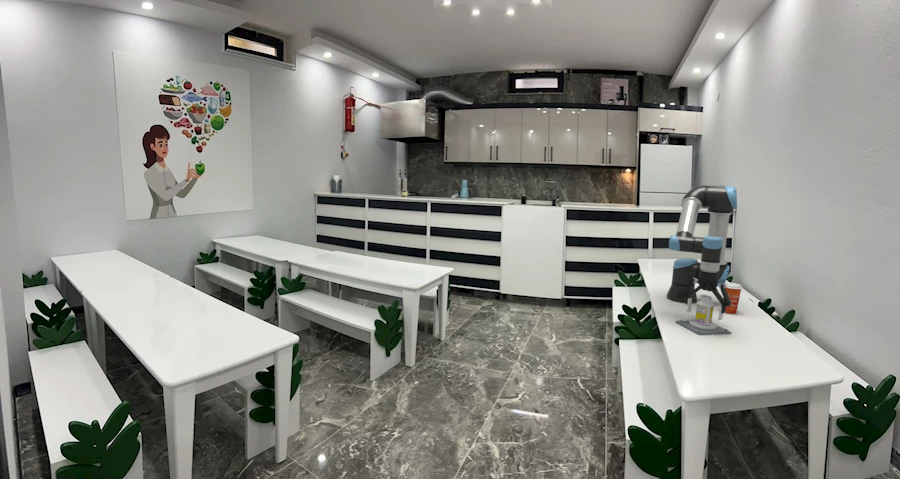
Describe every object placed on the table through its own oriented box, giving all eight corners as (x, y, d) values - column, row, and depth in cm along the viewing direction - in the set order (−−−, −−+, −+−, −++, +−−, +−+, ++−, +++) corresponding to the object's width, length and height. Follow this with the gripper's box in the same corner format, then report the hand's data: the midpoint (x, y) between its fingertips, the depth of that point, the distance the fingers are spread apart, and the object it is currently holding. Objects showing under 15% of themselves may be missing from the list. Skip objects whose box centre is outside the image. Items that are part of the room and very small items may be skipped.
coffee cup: (721, 313, 225) (725, 285, 223) (718, 308, 233) (722, 281, 230) (740, 315, 222) (744, 287, 220) (737, 311, 230) (740, 283, 227)
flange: (675, 322, 210) (676, 318, 210) (705, 321, 212) (706, 317, 212) (698, 335, 194) (699, 330, 194) (731, 333, 197) (731, 328, 196)
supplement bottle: (707, 321, 206) (710, 294, 204) (714, 326, 200) (717, 298, 197) (692, 320, 207) (695, 294, 205) (698, 325, 200) (701, 298, 198)
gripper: (677, 266, 206) (672, 309, 210) (737, 277, 187) (730, 324, 190) (684, 264, 211) (680, 307, 214) (743, 275, 192) (737, 321, 195)
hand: (704, 315), depth 202 cm, fingers open, 13 cm apart
